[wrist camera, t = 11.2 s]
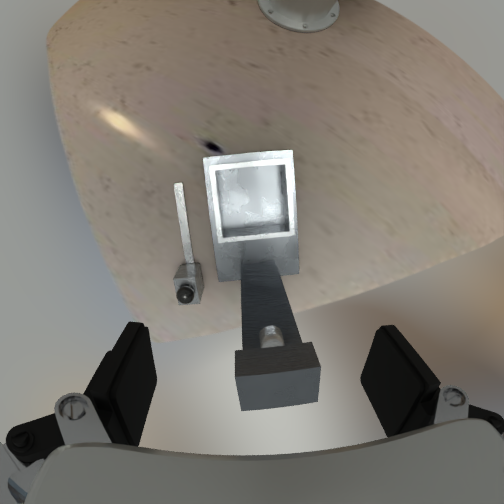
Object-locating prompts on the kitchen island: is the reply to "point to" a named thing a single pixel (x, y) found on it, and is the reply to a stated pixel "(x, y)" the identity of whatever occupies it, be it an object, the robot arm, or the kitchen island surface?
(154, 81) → the kitchen island surface
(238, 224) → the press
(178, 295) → the lever
